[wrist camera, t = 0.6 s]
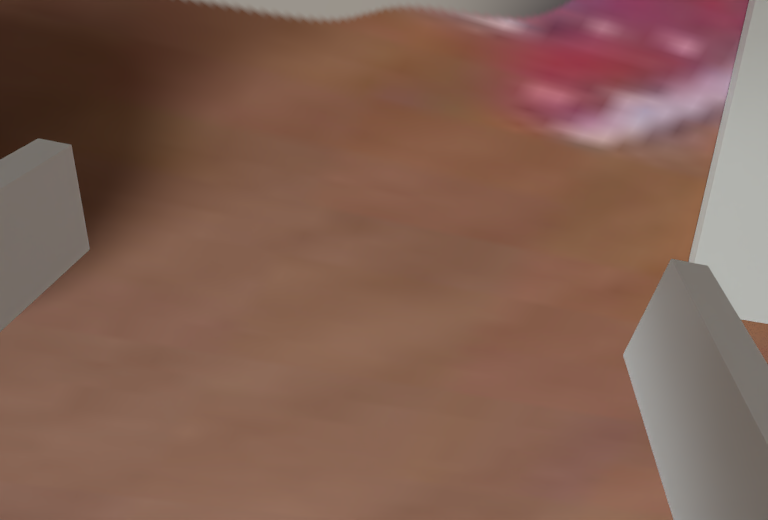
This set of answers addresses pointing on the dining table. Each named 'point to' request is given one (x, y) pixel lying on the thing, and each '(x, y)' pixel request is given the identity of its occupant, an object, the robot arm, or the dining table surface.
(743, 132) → the grey mat
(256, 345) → the dining table surface
